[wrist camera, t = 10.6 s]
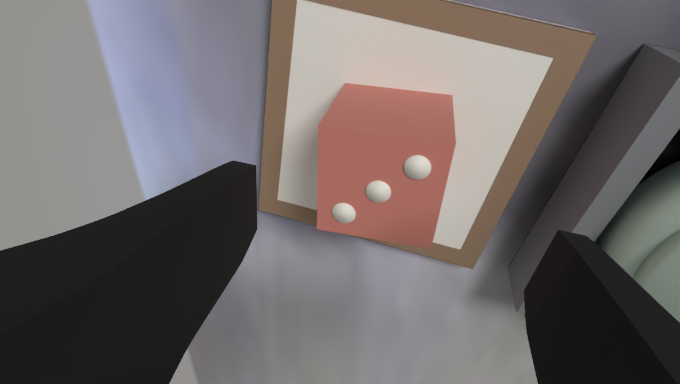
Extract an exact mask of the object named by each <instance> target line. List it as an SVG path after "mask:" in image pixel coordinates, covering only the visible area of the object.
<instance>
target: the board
mask: <svg viewBox="0 0 680 384" xmlns="http://www.w3.org/2000/svg"><path fill="white" fill-rule="evenodd" d="M596 37H597V36H596V35H595V34H593V33H591V32H590V31H586V30H582V29H578V28H573V27H569V26H564V25H560V24H555V23H551V22H547V21H542V20H538V19H533V18H529V17H524V16H520V15H515V14H511V13H507V12H502V11H498V10H493V9H489V8H484V7H480V6H476V5H471V4H467V3H462V2H458V1H453V0H272V9H271V25H270V40H269V56H268V71H267V87H266V102H265V118H264V133H263V148H262V164H261V179H260V195H259V210H262V211H265V212H269V213H272V214H276V215H280V216H283V217H287V218H290V219H294V220H298V221H301V222H305V223H309V224H312V225H316V226H317V185H318V125H319V123H320V122H321V120H322V119H323V117H324V115H325V114H326V112H327V111H328V109H329V107H330V106H331V104H332V103H333V101H334V100H335V98H336V96H337V95H338V93H339V92H340V90H341V88H342V87H343V85H344V84H345V83H350V84H359V85H368V86H377V87H386V88H394V89H403V90H412V91H421V92H430V93H439V94H448V95H452V98H453V111H454V124H455V137H456V145H455V150H454V154H453V158H452V162H451V167H450V171H449V175H448V179H447V184H446V188H445V192H444V196H443V201H442V205H441V209H440V214H439V218H438V222H437V226H436V231H435V235H434V239H433V243H432V248H431V249H428V248H422V247H416V246H411V245H405V244H399V243H393V242H387V241H382V240H376V239H370V238H364V237H359V238H363V239H366V240H370V241H374V242H377V243H381V244H384V245H388V246H392V247H395V248H399V249H402V250H406V251H410V252H413V253H417V254H421V255H424V256H428V257H431V258H435V259H439V260H442V261H446V262H449V263H453V264H457V265H460V266H464V267H468V268H471V269H473V267H474V266H475V264H476V262H477V260H478V258H479V256H480V254H481V252H482V251H483V249H484V247H485V245H486V243H487V241H488V239H489V237H490V236H491V234H492V232H493V230H494V228H495V226H496V224H497V222H498V221H499V219H500V217H501V215H502V213H503V211H504V209H505V207H506V206H507V204H508V202H509V200H510V198H511V196H512V194H513V192H514V191H515V189H516V187H517V185H518V183H519V181H520V179H521V177H522V176H523V174H524V172H525V170H526V168H527V166H528V164H529V162H530V161H531V159H532V157H533V155H534V153H535V151H536V149H537V147H538V146H539V144H540V142H541V140H542V138H543V136H544V134H545V132H546V131H547V129H548V127H549V125H550V123H551V121H552V119H553V117H554V116H555V114H556V112H557V110H558V108H559V106H560V104H561V102H562V101H563V99H564V97H565V95H566V93H567V91H568V89H569V87H570V86H571V84H572V82H573V80H574V78H575V76H576V74H577V72H578V71H579V69H580V67H581V65H582V63H583V61H584V59H585V57H586V56H587V54H588V52H589V50H590V48H591V46H592V44H593V42H594V41H595V39H596ZM352 236H353V235H352ZM355 237H358V236H355Z"/></svg>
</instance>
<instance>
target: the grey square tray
mask: <svg viewBox="0 0 680 384" xmlns="http://www.w3.org/2000/svg"><path fill="white" fill-rule="evenodd" d="M679 129H680V51H675V50H671V49H666V48H662V47H657V46H653V45H649V44H644V45H643V47H642V49H641V50H640V52H639V53H638V55H637V57H636V58H635V60H634V62H633V63H632V65H631V67H630V68H629V70H628V72H627V73H626V75H625V76H624V78H623V80H622V81H621V83H620V85H619V86H618V88H617V90H616V91H615V93H614V95H613V96H612V98H611V99H610V101H609V103H608V104H607V106H606V108H605V109H604V111H603V113H602V114H601V116H600V118H599V119H598V121H597V123H596V124H595V126H594V127H593V129H592V131H591V132H590V134H589V136H588V137H587V139H586V141H585V142H584V144H583V146H582V147H581V149H580V150H579V152H578V154H577V155H576V157H575V159H574V160H573V162H572V164H571V165H570V167H569V169H568V170H567V172H566V173H565V175H564V177H563V178H562V180H561V182H560V183H559V185H558V187H557V188H556V190H555V192H554V193H553V195H552V197H551V198H550V200H549V201H548V203H547V205H546V206H545V208H544V210H543V211H542V213H541V215H540V216H539V218H538V220H537V221H536V223H535V224H534V226H533V228H532V229H531V231H530V233H529V234H528V236H527V238H526V239H525V241H524V243H523V244H522V246H521V248H520V249H519V251H518V252H517V254H516V256H515V257H514V259H513V261H512V262H511V264H510V266H509V267H508V271H509V276H510V281H511V286H512V291H513V295H514V300H515V305H516V310H517V312H519V313H523V314H525V305H524V289H525V287H526V286H527V284H528V282H529V280H530V279H531V277H532V275H533V273H534V271H535V270H536V268H537V266H538V264H539V263H540V261H541V259H542V257H543V256H544V254H545V252H546V250H547V248H548V247H549V245H550V243H551V241H552V240H553V238H554V236H555V234H556V232H557V231H558V230H562V231H567V232H571V233H576V234H581V235H585V236H587V237H589V238H590V239H591V240H592V241H593V242H595V241H596V239H597V238H598V237H599V235H600V234H601V233H602V231H603V230H604V229H605V227H606V226H607V225H608V223H609V222H610V221H611V219H612V218H613V217H614V215H615V214H616V213H617V211H618V210H619V209H620V207H621V206H622V205H623V203H624V202H625V201H626V199H627V198H628V197H629V195H630V194H631V193H632V191H633V190H634V189H635V187H636V186H637V185H638V183H639V182H640V181H641V179H642V178H643V177H644V175H645V174H646V173H647V171H648V170H649V169H650V167H651V166H652V165H653V163H654V162H655V161H656V159H657V158H658V157H659V155H660V154H661V153H662V151H663V150H664V149H665V147H666V146H667V145H668V143H669V142H670V141H671V139H672V138H673V137H674V135H675V134H676V133H677V131H678V130H679ZM677 162H678V161H677ZM675 163H676V162H675ZM672 164H674V163H672ZM672 164H670V165H672ZM670 165H668V166H670ZM668 166H666V167H668ZM666 167H664V168H666ZM664 168H662V169H664ZM662 169H660V170H662ZM660 170H658V171H657V172H659V171H660ZM657 172H655V173H657ZM655 173H654V174H655ZM654 174H652V175H654ZM652 175H651V176H652ZM651 176H649V177H651ZM649 177H648V178H649ZM645 180H646V179H645Z"/></svg>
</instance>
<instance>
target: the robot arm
mask: <svg viewBox="0 0 680 384" xmlns="http://www.w3.org/2000/svg"><path fill="white" fill-rule="evenodd" d="M256 230H257V193H256V165H251V164H247V163H242V162H237V161H231V162H228V163H226V164H223V165H221V166H219V167H217V168H215V169H212V170H210V171H208V172H206V173H204V174H202V175H200V176H198V177H196V178H194V179H192V180H190V181H188V182H185V183H183V184H181V185H179V186H177V187H175V188H173V189H171V190H169V191H167V192H164V193H162V194H160V195H158V196H156V197H153V198H151V199H149V200H146V201H144V202H142V203H139V204H137V205H135V206H132V207H130V208H127V209H125V210H123V211H120V212H118V213H116V214H113V215H111V216H108V217H106V218H103V219H100V220H98V221H95V222H92V223H89V224H87V225H84V226H81V227H78V228H75V229H72V230H69V231H66V232H63V233H60V234H57V235H54V236H51V237H48V238H44V239H40V240H37V241H33V242H30V243H26V244H23V245H19V246H15V247H12V248H8V249H5V250H2V251H0V384H169V383H170V381H171V379H172V377H173V374H174V373H175V371H176V369H177V367H178V365H179V363H180V361H181V359H182V357H183V355H184V353H185V352H186V350H187V348H188V346H189V345H190V343H191V341H192V340H193V338H194V336H195V334H196V333H197V331H198V330H199V328H200V327H201V325H202V324H203V322H204V320H205V319H206V317H207V316H208V314H209V313H210V311H211V310H212V308H213V307H214V305H215V303H216V302H217V300H218V299H219V297H220V296H221V294H222V293H223V291H224V289H225V288H226V286H227V285H228V283H229V282H230V280H231V278H232V277H233V275H234V274H235V272H236V270H237V269H238V267H239V266H240V264H241V262H242V261H243V258H244V256H245V254H246V252H247V250H248V248H249V246H250V244H251V241H252V239H253V237H254V235H255V233H256ZM524 305H525V319H526V329H527V335H528V340H529V345H530V349H531V354H532V359H533V363H534V368H535V372H536V377H537V381H538V384H680V322H679V321H677V320H676V319H675V318H674V317H673V316H672V315H671V314H670V313H669V312H668V311H667V310H666V309H665V308H663V307H662V306H661V305H660V304H659V303H658V302H657V301H656V300H655V299H654V298H653V297H652V296H651V295H650V294H649V293H648V292H647V291H646V290H644V289H643V288H642V287H641V286H640V285H639V284H638V283H637V282H636V281H635V280H634V279H633V278H632V277H631V276H630V275H629V274H628V273H627V272H626V271H625V270H624V269H623V268H622V267H621V266H620V265H618V264H617V263H616V262H615V261H614V260H613V259H612V258H611V257H610V256H609V255H608V254H607V253H606V252H605V251H604V250H602V249H601V248H600V247H599V246H598V245H597V244H596V243H595V242H593V241H592V240H591V239H590V238H589V237H587V236H585V235H581V234H576V233H571V232H567V231H562V230H558V231H557V232H556V234H555V236H554V238H553V240H552V241H551V243H550V245H549V247H548V248H547V250H546V252H545V254H544V256H543V257H542V259H541V261H540V263H539V264H538V266H537V268H536V270H535V271H534V273H533V275H532V277H531V279H530V280H529V282H528V284H527V286H526V287H525V289H524Z"/></svg>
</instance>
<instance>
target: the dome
mask: <svg viewBox="0 0 680 384" xmlns="http://www.w3.org/2000/svg"><path fill="white" fill-rule="evenodd" d="M596 244H597V245H598V246H599V247H600V248H601V249H602V250H604V251H605V252H606V253H607V254H608V255H609V256H610V257H611V258H612V259H613V260H614V261H615V262H616V263H617V264H618V265H620V266H621V267H622V268H623V269H624V270H625V271H626V272H627V273H628V274H629V275H630V276H631V277H632V278H633V279H634V280H635V281H636V282H637V283H638V284H639V285H640V286H641V287H642V288H643V289H644V290H646V291H647V292H648V293H649V294H650V295H651V296H652V297H653V298H654V299H655V300H656V301H657V302H658V303H659V304H660V305H661V306H662V307H663V308H665V309H666V310H667V311H668V312H669V313H670V314H671V315H672V316H673V317H674V318H675V319H676V320H677V321H679V322H680V161H678V162H676V163H674V164H672V165H670V166H668V167H666V168H664V169H662V170H660V171H659V172H657V173H655V174H654V175H652V176H651V177H649V178H647V179H646V180H644V181H643V182H642V183H640V184H639V185H638V186H636V187H635V189H634V190H633V191H632V193H631V194H630V195H629V197H628V198H627V199H626V201H625V202H624V203H623V205H622V206H621V207H620V209H619V210H618V211H617V213H616V214H615V215H614V217H613V218H612V219H611V221H610V222H609V223H608V225H607V226H606V227H605V229H604V230H603V231H602V233H601V234H600V235H599V237H598V238H597V242H596Z"/></svg>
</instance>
